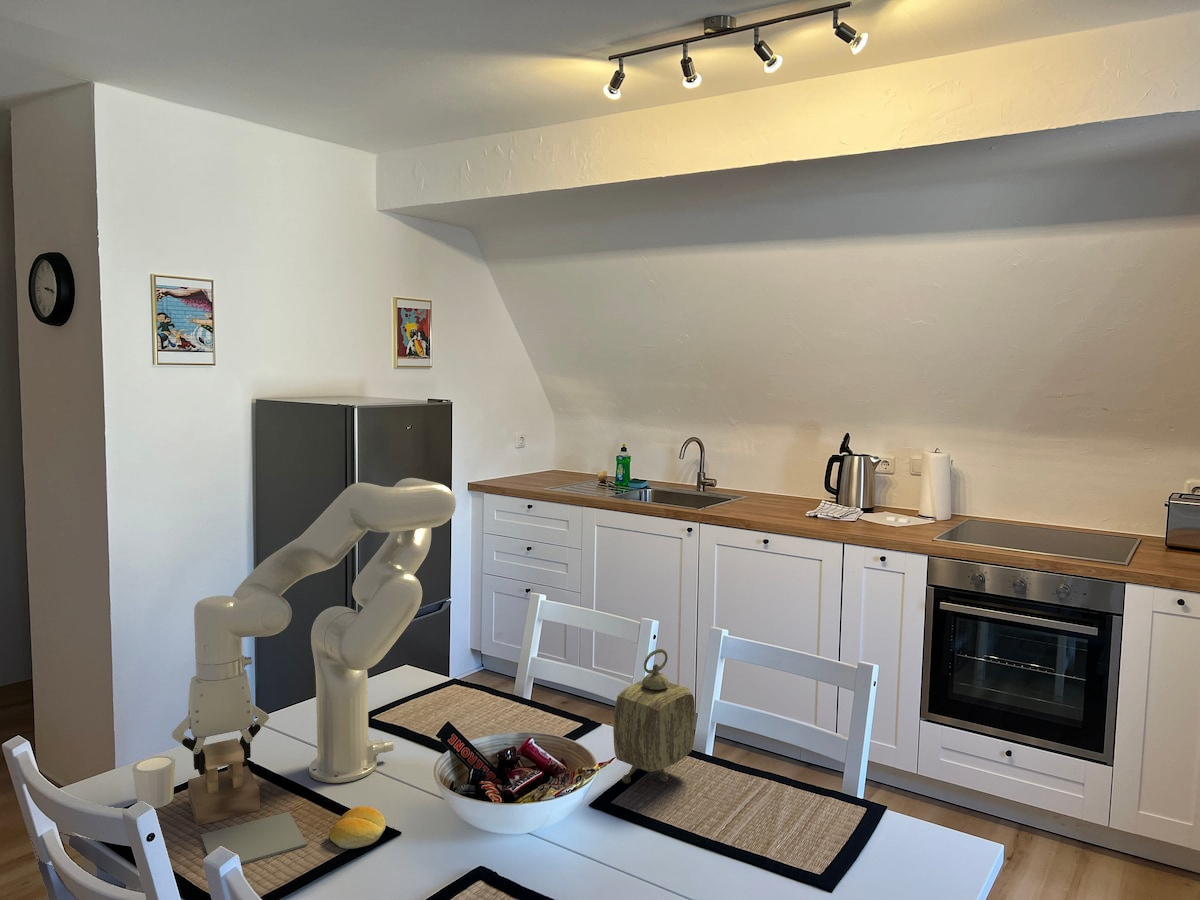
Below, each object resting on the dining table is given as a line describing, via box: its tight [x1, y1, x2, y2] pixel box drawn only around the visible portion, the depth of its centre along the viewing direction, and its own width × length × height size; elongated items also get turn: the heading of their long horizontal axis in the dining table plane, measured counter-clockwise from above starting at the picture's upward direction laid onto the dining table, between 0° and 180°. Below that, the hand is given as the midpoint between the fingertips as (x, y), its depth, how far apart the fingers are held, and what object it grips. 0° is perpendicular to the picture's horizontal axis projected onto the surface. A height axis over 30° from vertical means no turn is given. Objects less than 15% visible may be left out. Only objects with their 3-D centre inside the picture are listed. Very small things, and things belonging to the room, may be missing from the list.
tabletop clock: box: [612, 648, 696, 784], centre depth 163 cm, size 14×9×25 cm, turn 139°
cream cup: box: [131, 755, 176, 809], centre depth 154 cm, size 7×7×7 cm
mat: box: [200, 811, 308, 865], centre depth 141 cm, size 14×12×1 cm
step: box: [187, 765, 261, 826], centre depth 152 cm, size 10×10×4 cm
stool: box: [202, 737, 244, 794], centre depth 152 cm, size 6×6×6 cm
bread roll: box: [329, 805, 386, 850], centre depth 143 cm, size 8×9×4 cm
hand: (222, 766), depth 152 cm, fingers open, 6 cm apart
